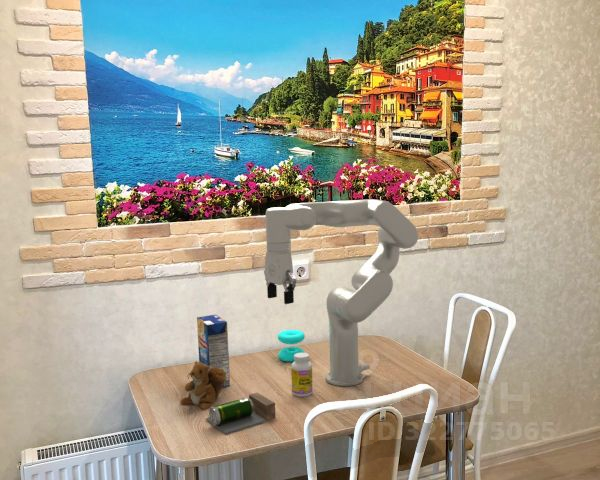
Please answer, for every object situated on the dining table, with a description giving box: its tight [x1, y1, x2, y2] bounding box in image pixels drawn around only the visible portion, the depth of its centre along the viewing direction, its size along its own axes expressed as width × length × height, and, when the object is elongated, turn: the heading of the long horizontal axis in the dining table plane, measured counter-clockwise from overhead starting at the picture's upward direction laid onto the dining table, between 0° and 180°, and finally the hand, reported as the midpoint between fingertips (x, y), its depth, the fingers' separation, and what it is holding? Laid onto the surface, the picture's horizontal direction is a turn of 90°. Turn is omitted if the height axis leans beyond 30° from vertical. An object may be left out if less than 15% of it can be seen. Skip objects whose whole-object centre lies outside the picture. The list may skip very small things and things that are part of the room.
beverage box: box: [196, 314, 231, 388], centre depth 215 cm, size 7×11×22 cm, turn 27°
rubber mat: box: [205, 412, 267, 435], centre depth 186 cm, size 13×12×1 cm
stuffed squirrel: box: [180, 360, 227, 411], centre depth 200 cm, size 10×14×13 cm
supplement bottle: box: [290, 352, 313, 398], centre depth 204 cm, size 7×7×13 cm
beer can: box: [208, 397, 255, 426], centre depth 185 cm, size 5×5×12 cm
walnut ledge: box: [248, 392, 276, 421], centre depth 191 cm, size 3×10×4 cm, turn 35°
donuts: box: [277, 329, 306, 363], centre depth 238 cm, size 10×10×10 cm
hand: (280, 300), depth 202 cm, fingers open, 9 cm apart
